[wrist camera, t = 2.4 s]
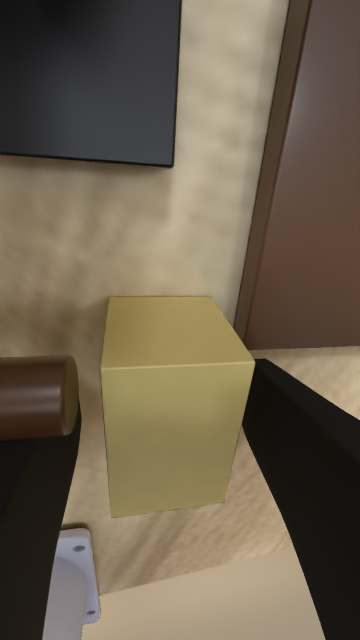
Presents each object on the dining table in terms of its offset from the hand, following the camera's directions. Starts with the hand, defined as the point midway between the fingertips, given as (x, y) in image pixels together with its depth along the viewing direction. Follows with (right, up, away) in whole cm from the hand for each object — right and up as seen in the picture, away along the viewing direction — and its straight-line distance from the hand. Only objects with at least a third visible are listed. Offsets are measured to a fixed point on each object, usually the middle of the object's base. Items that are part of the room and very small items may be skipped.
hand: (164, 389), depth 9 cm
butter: (0, +1, +1) cm, 1 cm away
